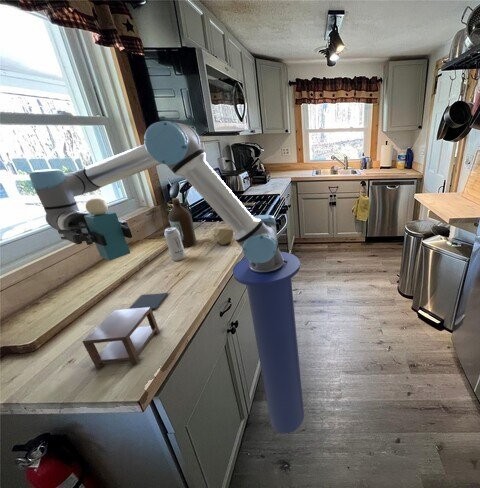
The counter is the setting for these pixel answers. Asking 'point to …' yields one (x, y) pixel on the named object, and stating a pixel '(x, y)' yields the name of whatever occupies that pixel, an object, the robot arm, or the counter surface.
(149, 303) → the coaster
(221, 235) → the low-poly potato
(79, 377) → the counter surface
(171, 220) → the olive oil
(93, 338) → the small wooden table
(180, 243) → the energy drink can
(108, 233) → the toy
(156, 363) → the counter surface
